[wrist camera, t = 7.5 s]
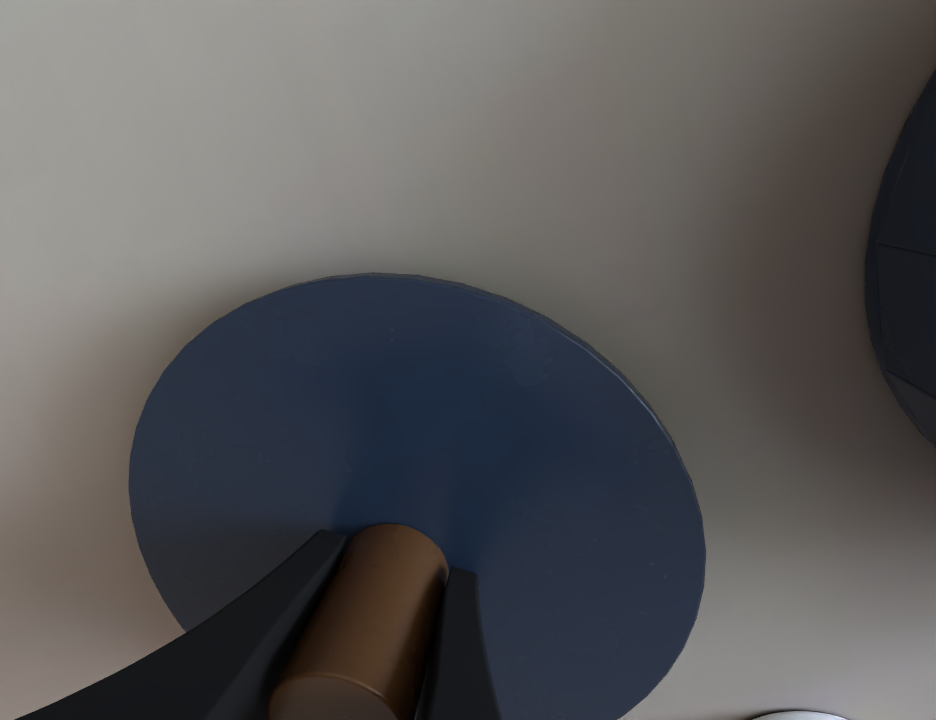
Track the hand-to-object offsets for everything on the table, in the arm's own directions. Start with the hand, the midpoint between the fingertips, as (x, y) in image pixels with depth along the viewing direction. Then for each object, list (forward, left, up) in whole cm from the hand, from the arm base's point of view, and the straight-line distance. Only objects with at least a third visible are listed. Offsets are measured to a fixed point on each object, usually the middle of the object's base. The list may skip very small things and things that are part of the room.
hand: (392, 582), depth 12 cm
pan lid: (0, 0, -1) cm, 1 cm away
